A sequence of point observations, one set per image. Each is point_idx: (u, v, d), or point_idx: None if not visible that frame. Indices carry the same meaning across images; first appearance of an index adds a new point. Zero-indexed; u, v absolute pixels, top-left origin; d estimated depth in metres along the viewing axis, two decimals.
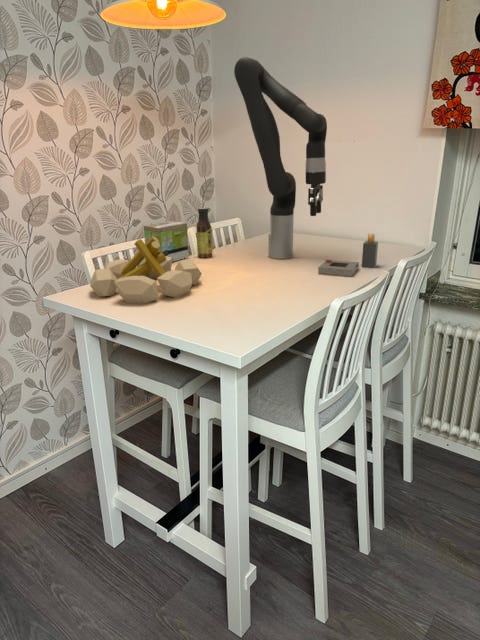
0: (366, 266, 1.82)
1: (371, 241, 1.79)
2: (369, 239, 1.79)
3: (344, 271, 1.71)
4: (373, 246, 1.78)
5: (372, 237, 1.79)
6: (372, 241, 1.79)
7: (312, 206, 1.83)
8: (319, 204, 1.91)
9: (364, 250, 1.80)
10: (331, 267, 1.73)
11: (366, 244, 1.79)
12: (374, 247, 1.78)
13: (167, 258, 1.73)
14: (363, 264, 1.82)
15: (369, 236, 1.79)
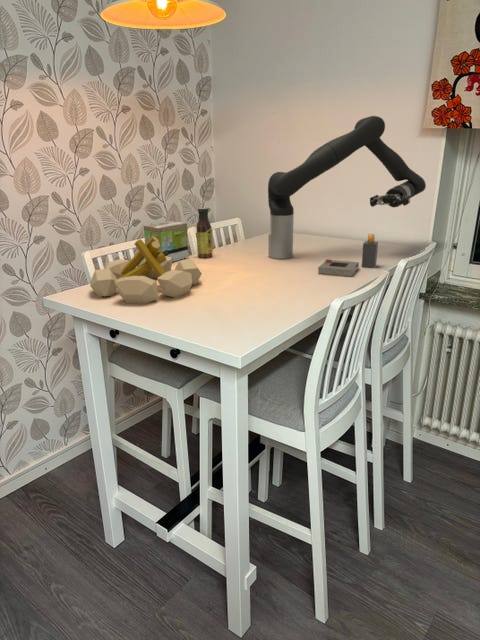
0: (366, 266, 1.82)
1: (371, 241, 1.79)
2: (369, 239, 1.79)
3: (344, 271, 1.71)
4: (373, 246, 1.78)
5: (372, 237, 1.79)
6: (372, 241, 1.79)
7: (400, 202, 1.83)
8: (376, 203, 1.88)
9: (364, 250, 1.80)
10: (331, 267, 1.73)
11: (366, 244, 1.79)
12: (374, 247, 1.78)
13: (167, 258, 1.73)
14: (363, 264, 1.82)
15: (369, 236, 1.79)
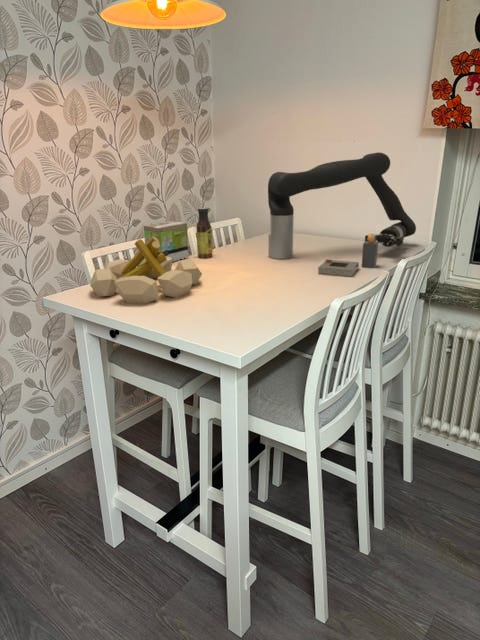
0: (366, 266, 1.82)
1: (371, 241, 1.79)
2: (369, 239, 1.79)
3: (344, 271, 1.71)
4: (373, 246, 1.78)
5: (372, 237, 1.79)
6: (372, 241, 1.79)
7: (395, 242, 1.88)
8: None
9: (364, 250, 1.80)
10: (331, 267, 1.73)
11: (366, 244, 1.79)
12: (374, 247, 1.78)
13: (167, 258, 1.73)
14: (363, 264, 1.82)
15: (369, 236, 1.79)
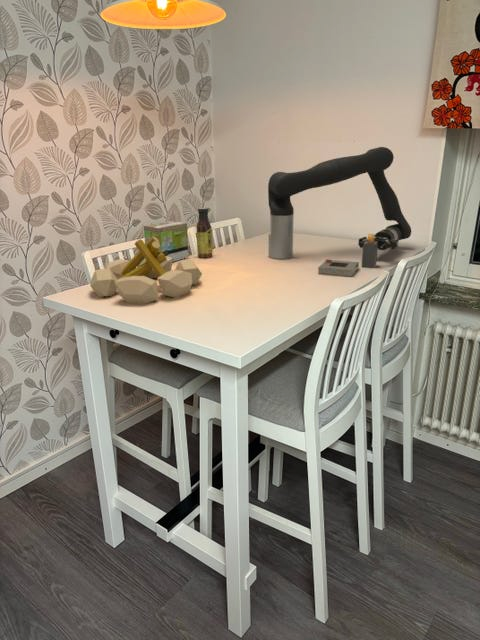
0: (366, 266, 1.82)
1: (371, 241, 1.79)
2: (369, 239, 1.79)
3: (344, 271, 1.71)
4: (373, 246, 1.78)
5: (372, 237, 1.79)
6: (372, 241, 1.79)
7: (389, 245, 1.83)
8: None
9: (364, 250, 1.80)
10: (331, 267, 1.73)
11: (366, 244, 1.79)
12: (374, 247, 1.78)
13: (167, 258, 1.73)
14: (363, 264, 1.82)
15: (369, 236, 1.79)
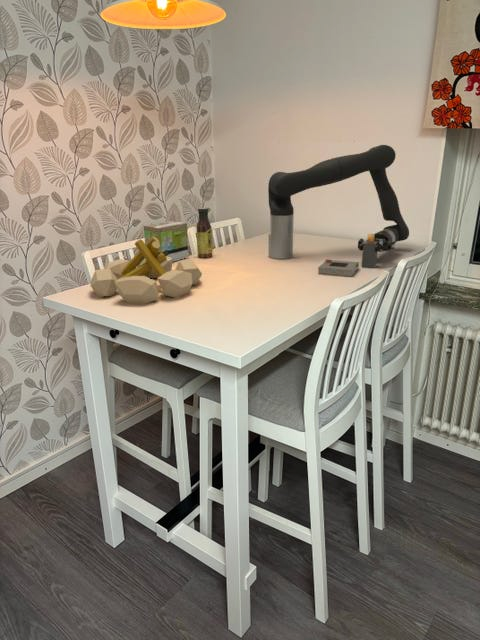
0: (366, 266, 1.82)
1: (371, 241, 1.79)
2: (369, 239, 1.79)
3: (344, 271, 1.71)
4: (373, 246, 1.78)
5: (372, 237, 1.79)
6: (372, 241, 1.79)
7: (382, 247, 1.80)
8: None
9: (364, 250, 1.80)
10: (331, 267, 1.73)
11: (366, 244, 1.79)
12: (374, 247, 1.78)
13: (167, 258, 1.73)
14: (363, 264, 1.82)
15: (369, 236, 1.79)
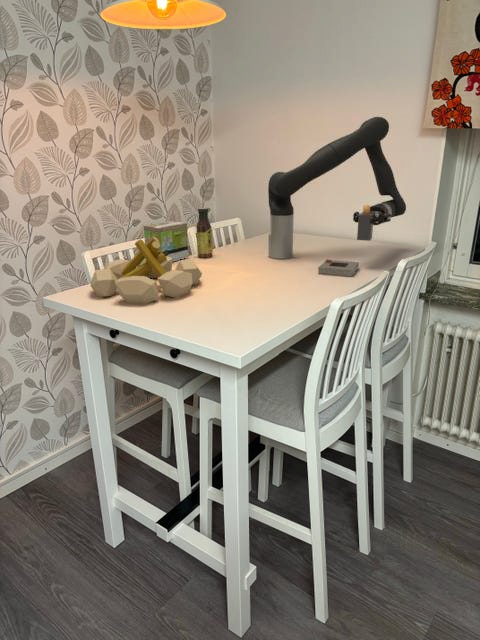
0: (361, 238, 1.77)
1: (366, 212, 1.74)
2: (364, 210, 1.75)
3: (344, 271, 1.71)
4: (369, 217, 1.74)
5: (367, 208, 1.74)
6: (368, 212, 1.75)
7: (377, 219, 1.75)
8: None
9: (359, 222, 1.75)
10: (331, 267, 1.73)
11: (361, 215, 1.74)
12: (370, 218, 1.74)
13: (167, 258, 1.73)
14: (358, 236, 1.77)
15: (364, 207, 1.74)
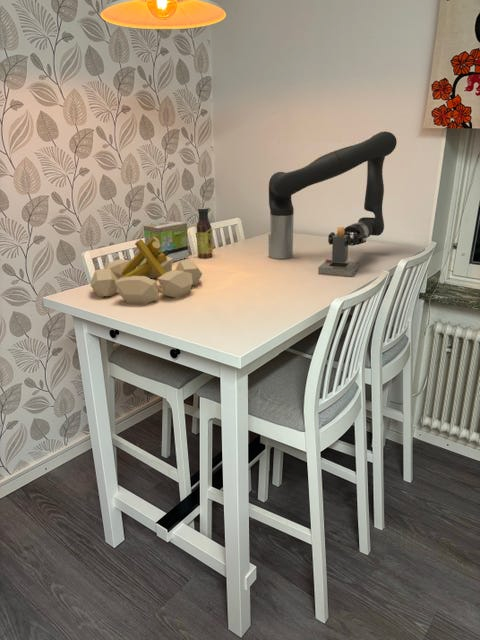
0: (336, 261, 1.75)
1: (341, 234, 1.72)
2: (339, 232, 1.72)
3: (344, 271, 1.71)
4: (343, 240, 1.71)
5: (342, 230, 1.71)
6: (342, 234, 1.72)
7: (352, 241, 1.73)
8: None
9: (334, 244, 1.73)
10: (331, 267, 1.73)
11: (335, 238, 1.72)
12: (344, 241, 1.71)
13: (168, 258, 1.73)
14: (333, 259, 1.75)
15: (338, 229, 1.72)
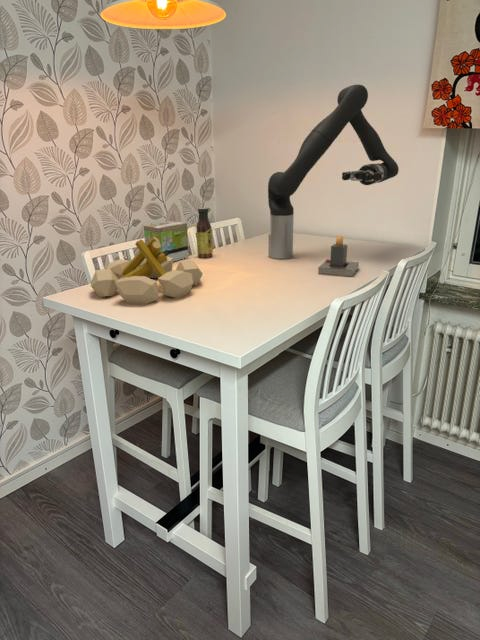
0: None
1: (339, 244, 1.73)
2: (337, 242, 1.73)
3: (344, 271, 1.71)
4: (341, 249, 1.72)
5: (340, 240, 1.73)
6: (340, 244, 1.73)
7: (373, 177, 1.75)
8: (348, 178, 1.80)
9: (332, 253, 1.74)
10: (331, 267, 1.73)
11: (334, 247, 1.73)
12: (342, 250, 1.72)
13: (168, 258, 1.73)
14: None
15: (337, 239, 1.73)
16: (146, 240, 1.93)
